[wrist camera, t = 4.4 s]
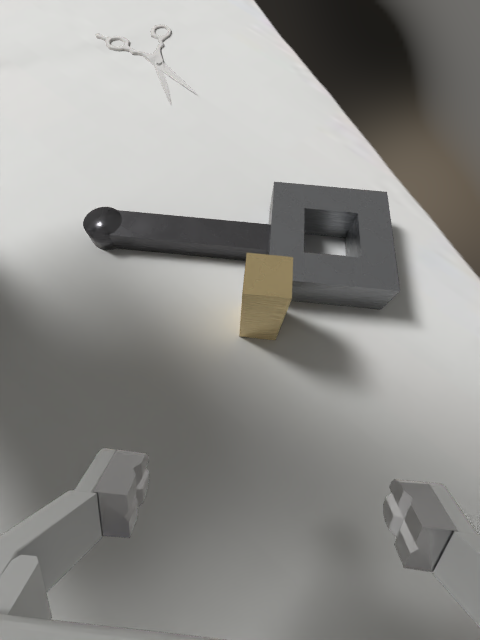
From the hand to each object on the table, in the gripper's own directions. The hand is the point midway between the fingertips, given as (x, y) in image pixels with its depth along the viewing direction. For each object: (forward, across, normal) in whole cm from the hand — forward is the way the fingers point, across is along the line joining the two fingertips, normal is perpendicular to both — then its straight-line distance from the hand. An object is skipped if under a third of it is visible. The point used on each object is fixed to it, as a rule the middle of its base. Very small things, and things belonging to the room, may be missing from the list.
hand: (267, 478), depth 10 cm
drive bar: (+18, 0, +2) cm, 18 cm away
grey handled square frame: (+24, +3, -4) cm, 24 cm away
